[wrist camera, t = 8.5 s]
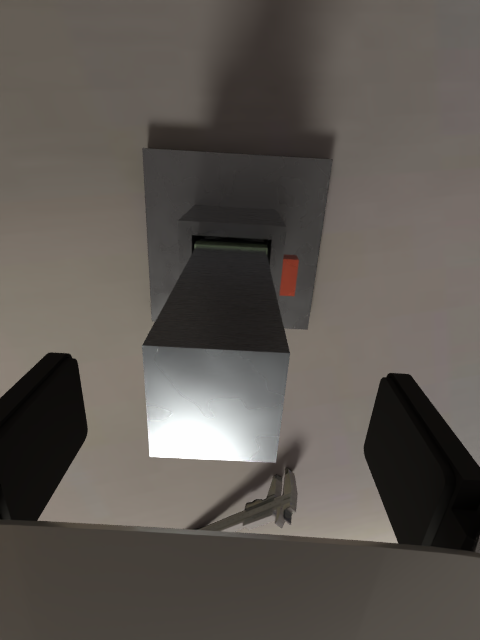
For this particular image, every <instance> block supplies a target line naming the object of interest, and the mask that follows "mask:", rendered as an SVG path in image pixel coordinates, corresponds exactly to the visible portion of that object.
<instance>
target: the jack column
mask: <svg viewBox="0 0 480 640" xmlns="http://www.w3.org/2000/svg"><path fill="white" fill-rule="evenodd" d="M267 249H268V248H267V244H264V242H253V241H235V240H217V239H200V240H199V241H196V242H195V244H194V251H193V253H192V255H191V257H190V258H189V260H188V262H187V264H186V266H185V268H184V270H183V271H182V273H181V275H180V277H179V279H178V281H177V282H176V284H175V286H174V288H173V290H172V292H171V293H170V295H169V297H168V299H167V301H166V303H165V305H164V306H163V308H162V310H161V312H160V314H159V316H158V317H157V319H156V321H155V323H154V325H153V327H152V328H151V330H150V332H149V334H148V336H147V338H146V340H145V341H144V343H143V345H142V350H143V364H144V379H145V394H146V408H147V423H148V437H149V452H150V457H168V458H189V459H210V460H230V461H251V462H272V463H276V458H277V450H278V442H279V434H280V426H281V419H282V411H283V403H284V395H285V388H286V380H287V372H288V364H289V356H290V352H289V347H288V343H287V339H286V334H285V330H284V326H283V322H282V317H281V313H280V309H279V305H278V300H277V296H276V292H275V288H274V283H273V279H272V275H271V270H270V266H269V262H268V258H267Z"/></svg>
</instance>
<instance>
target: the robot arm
mask: <svg viewBox="0 0 480 640" xmlns="http://www.w3.org/2000/svg"><path fill="white" fill-rule="evenodd" d="M87 431H88V428H87V421H86V414H85V408H84V401H83V395H82V388H81V381H80V375H79V368H78V363H77V360H76V359H72V356H71V355H70V354H67V353H48V354H46V355H45V356H44V357H43V358H42V359H41V360H40V361H39V362H38V363H37V364H36V365H35V366H34V367H33V368H32V369H31V370H30V371H29V372H27V373H26V374H25V375H24V376H23V377H22V378H21V379H20V380H19V381H18V382H17V383H16V384H15V385H14V386H13V387H12V388H11V389H9V390H8V391H7V392H6V393H5V394H4V395H3V396H2V397H1V398H0V640H480V467H479V466H478V464H477V463H476V462H475V460H474V459H473V458H472V456H471V455H470V454H469V452H468V451H467V450H466V448H465V447H464V446H463V444H462V443H461V442H460V440H459V439H458V438H457V436H456V435H455V434H454V432H453V431H452V430H451V428H450V427H449V426H448V424H447V423H446V422H445V420H444V419H443V418H442V416H441V415H440V414H439V412H438V411H437V410H436V408H435V407H434V406H433V404H432V403H431V402H430V400H429V399H428V398H427V396H426V395H425V394H424V392H423V391H422V390H421V388H420V387H419V386H418V384H417V383H416V382H415V380H414V379H413V378H412V376H411V375H409V374H398V373H389V374H388V375H387V377H383V378H382V379H381V381H380V384H379V388H378V392H377V396H376V400H375V404H374V408H373V412H372V416H371V420H370V424H369V428H368V432H367V435H366V439H365V443H364V455H365V458H366V461H367V464H368V466H369V469H370V471H371V474H372V476H373V479H374V482H375V484H376V487H377V489H378V492H379V494H380V497H381V500H382V502H383V505H384V507H385V510H386V512H387V515H388V518H389V520H390V523H391V525H392V528H393V531H394V533H395V536H396V538H397V541H398V543H399V544H397V543H385V542H373V541H360V540H345V539H330V538H315V537H300V536H285V535H271V534H255V533H239V532H223V531H207V530H190V529H174V528H157V527H140V526H122V525H104V524H86V523H68V522H50V521H37V520H38V518H39V517H40V515H41V513H42V512H43V510H44V508H45V507H46V505H47V503H48V502H49V500H50V498H51V497H52V495H53V493H54V491H55V490H56V488H57V486H58V485H59V483H60V481H61V480H62V478H63V476H64V475H65V473H66V471H67V470H68V468H69V466H70V465H71V463H72V461H73V459H74V458H75V456H76V454H77V453H78V451H79V449H80V448H81V446H82V444H83V443H84V441H85V439H86V436H87Z"/></svg>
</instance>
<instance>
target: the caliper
mask: <svg viewBox="0 0 480 640" xmlns="http://www.w3.org/2000/svg"><path fill="white" fill-rule="evenodd" d="M281 492H282V478H281V477H280V476H278V475H277V474H276V475H275V476H274V477H273V479H272V483H271V486H270V489H269V492H268V495H267V498H266V499H264V500H262V499H256V500H254V501H253V502H249V503H246V506H245V510H244V511H242V512H239V513H237V514H234V515H232V516H229V517H227V518H225V519H222V520H220V521H217V522H215V523H212V524H210V525H207V526H205V527H202V528H200V529H197V530H207V531H223V532H236V531H239V530H241V529H244V528H246V529H248V530H251V529H254V528H257V527H259V526H262V525H265V524H268V523H271V522H274V521H275V524H276V525H278V526H279V527H280V528H282V527H283V525H284V523H285V522H287V523H288V524H289V525H291V516H292V514H293V513H295V512H296V505H297V488H296V481H295V475H294V473H293V472H291V471H290V470H289V469H285V478H284V487H283V495H282V496H281Z"/></svg>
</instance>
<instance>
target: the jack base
mask: <svg viewBox="0 0 480 640" xmlns="http://www.w3.org/2000/svg"><path fill="white" fill-rule="evenodd" d="M332 160H333V159H318V158H301V157H284V156H267V155H251V154H234V153H217V152H200V151H183V150H166V149H149V148H143V166H144V185H145V204H146V222H147V241H148V259H149V278H150V296H151V315H152V321H156V319H157V317H158V316H159V314H160V312H161V310H162V308H163V306H164V305H165V303H166V301H167V299H168V297H169V295H170V293H171V292H172V290H173V288H174V286H175V284H176V282H177V281H178V279H179V277H180V275H181V273H182V271H183V270H184V268H185V266H186V264H187V262H188V260H189V258H190V257H191V255H192V253H193V251H194V244H195V242H196V241H199V240H200V239H217V240H235V241H253V242H264V244H267V248H268V249H267V258H268V262H269V266H270V270H271V275H272V279H273V283H274V288H275V292H276V296H277V300H278V305H279V309H280V313H281V317H282V322H283V326H284V328H288V329H308V322H309V316H310V309H311V302H312V295H313V289H314V282H315V275H316V268H317V261H318V255H319V248H320V241H321V234H322V227H323V221H324V214H325V207H326V200H327V194H328V187H329V180H330V173H331V166H332Z"/></svg>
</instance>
